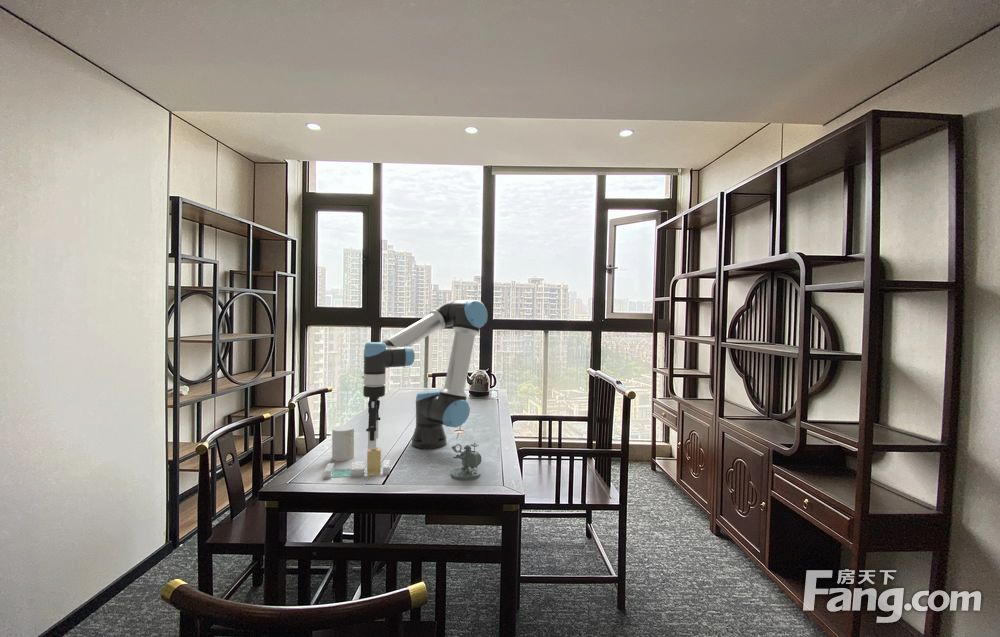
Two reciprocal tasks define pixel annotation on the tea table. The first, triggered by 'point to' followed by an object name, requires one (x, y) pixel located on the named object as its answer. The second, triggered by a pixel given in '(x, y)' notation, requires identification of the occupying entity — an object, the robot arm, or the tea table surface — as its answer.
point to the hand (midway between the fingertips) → (373, 443)
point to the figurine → (467, 463)
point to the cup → (342, 443)
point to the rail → (354, 470)
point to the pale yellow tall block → (374, 461)
